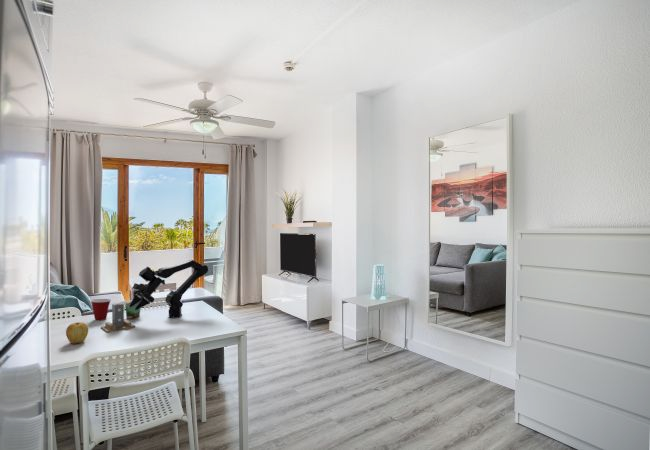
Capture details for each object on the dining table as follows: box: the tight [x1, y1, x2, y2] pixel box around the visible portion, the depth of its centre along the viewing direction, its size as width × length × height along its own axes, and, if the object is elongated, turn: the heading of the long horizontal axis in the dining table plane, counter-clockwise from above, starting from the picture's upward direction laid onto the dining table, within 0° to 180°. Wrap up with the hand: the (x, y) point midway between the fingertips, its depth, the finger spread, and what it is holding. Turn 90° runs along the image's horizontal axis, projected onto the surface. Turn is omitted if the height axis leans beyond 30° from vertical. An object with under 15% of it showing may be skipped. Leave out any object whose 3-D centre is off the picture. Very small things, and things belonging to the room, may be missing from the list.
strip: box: [111, 302, 125, 328], centre depth 207 cm, size 4×5×13 cm
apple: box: [65, 321, 89, 344], centre depth 183 cm, size 9×9×10 cm
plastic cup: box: [90, 298, 112, 322], centre depth 225 cm, size 11×11×12 cm
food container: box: [124, 301, 141, 320], centre depth 229 cm, size 12×6×10 cm, turn 179°
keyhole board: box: [100, 318, 136, 334], centre depth 207 cm, size 14×12×3 cm
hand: (132, 308), depth 213 cm, fingers open, 9 cm apart
